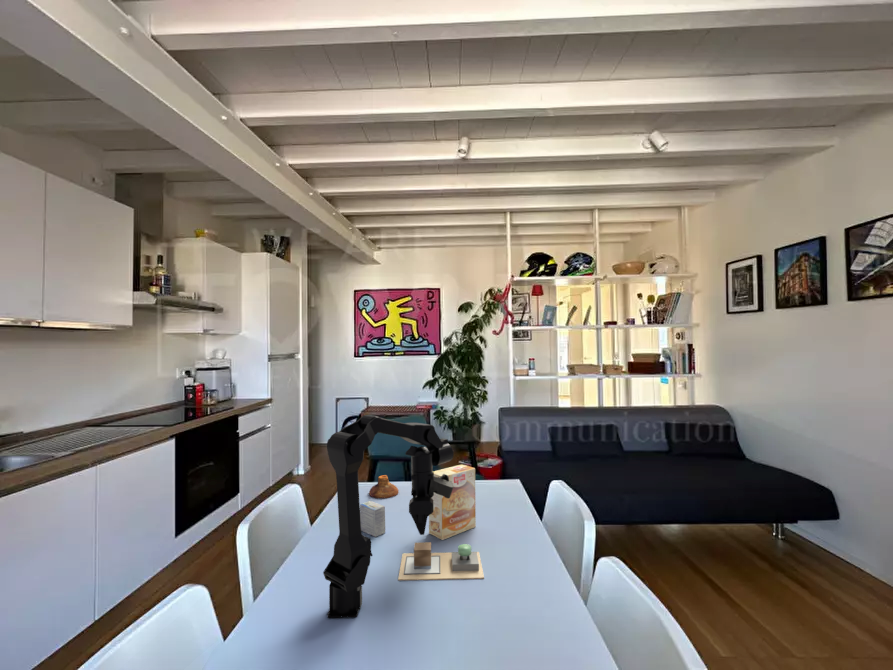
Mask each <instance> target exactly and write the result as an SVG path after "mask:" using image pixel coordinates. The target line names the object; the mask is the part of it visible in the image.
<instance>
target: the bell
mask: <svg viewBox="0 0 893 670" xmlns="http://www.w3.org/2000/svg"><path fill="white" fill-rule="evenodd" d="M368 494H369V496H370V497H372V498H374V499H389V498H390V499H391V498H393V497H395V496H398V494H399V489H398V487H397V485H395V484H393V483H392V482H390V481H389V477H388V475H387V474H384V475H380V476H378V477H377V483H376V484H374V485H373V486H372V487H370V489H369V492H368Z"/></svg>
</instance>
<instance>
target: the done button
mask: <svg viewBox="0 0 893 670" xmlns="http://www.w3.org/2000/svg"><path fill="white" fill-rule="evenodd" d="M457 552H458V554H459V555H461V556H463V560H467V556H469V555H471V552H472V546H471V545H470V544H469V543H467V544H466V543H463V544H460V545H458V546H457Z"/></svg>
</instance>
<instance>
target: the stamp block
mask: <svg viewBox="0 0 893 670" xmlns="http://www.w3.org/2000/svg"><path fill="white" fill-rule="evenodd" d="M413 546H414V547H413V553H414V569H431V553H432V542H431V541H430V542H427V541H425V542H414V545H413Z"/></svg>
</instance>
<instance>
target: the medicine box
mask: <svg viewBox="0 0 893 670" xmlns="http://www.w3.org/2000/svg"><path fill="white" fill-rule="evenodd" d="M360 520H361V532H364V533H365V534H368V535H370V536H371V537H375V538H376V537H378V536H381V535H384V534H386V506H385V505H382V504H380V503H377V502H374V501H372V500H369V501H365V502H363V503H360Z"/></svg>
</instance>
